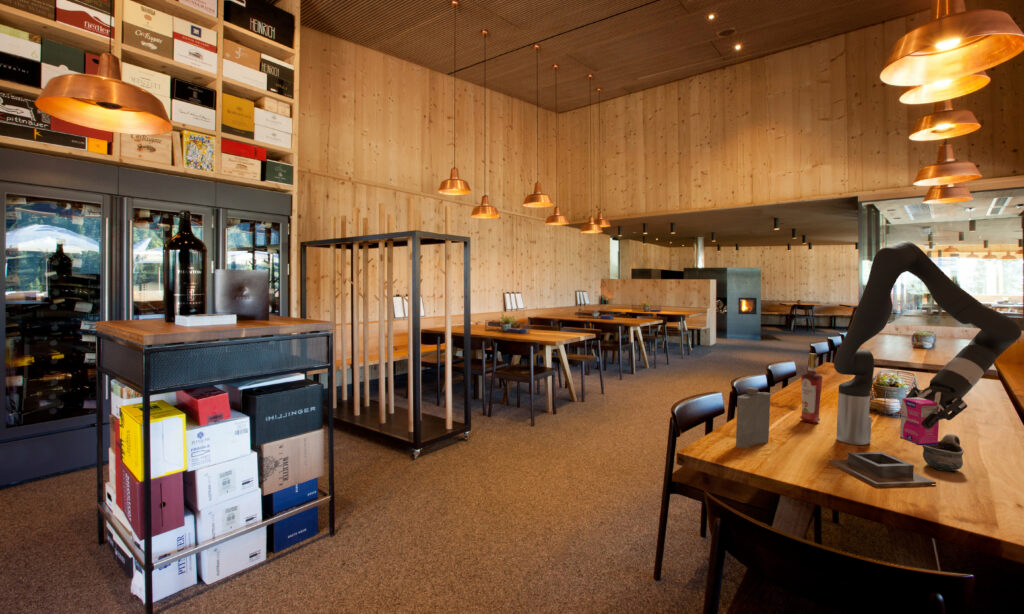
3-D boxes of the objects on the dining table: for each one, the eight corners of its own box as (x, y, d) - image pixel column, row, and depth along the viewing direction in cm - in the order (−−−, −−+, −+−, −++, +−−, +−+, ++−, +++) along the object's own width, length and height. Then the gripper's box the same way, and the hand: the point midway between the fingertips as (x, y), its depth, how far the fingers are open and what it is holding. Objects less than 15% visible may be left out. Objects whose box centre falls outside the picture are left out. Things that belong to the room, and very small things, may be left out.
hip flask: (742, 449, 164) (744, 391, 163) (731, 445, 168) (733, 389, 167) (770, 442, 172) (772, 386, 171) (759, 438, 176) (761, 384, 174)
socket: (881, 461, 154) (882, 447, 154) (935, 485, 136) (936, 469, 136) (828, 463, 152) (829, 449, 152) (876, 487, 134) (877, 471, 134)
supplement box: (898, 438, 133) (900, 397, 132) (918, 437, 133) (920, 396, 132) (918, 445, 127) (920, 403, 126) (938, 445, 127) (941, 402, 127)
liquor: (795, 420, 199) (798, 353, 198) (807, 418, 202) (809, 352, 201) (812, 425, 192) (815, 355, 191) (824, 423, 196) (827, 354, 194)
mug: (916, 466, 150) (917, 435, 149) (929, 458, 157) (931, 428, 156) (957, 477, 142) (959, 443, 141) (969, 468, 149) (971, 436, 148)
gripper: (923, 363, 137) (881, 406, 136) (976, 374, 122) (930, 421, 122) (939, 381, 137) (898, 424, 137) (993, 394, 123) (948, 441, 123)
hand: (913, 422), depth 130 cm, fingers closed on supplement box, 5 cm apart
